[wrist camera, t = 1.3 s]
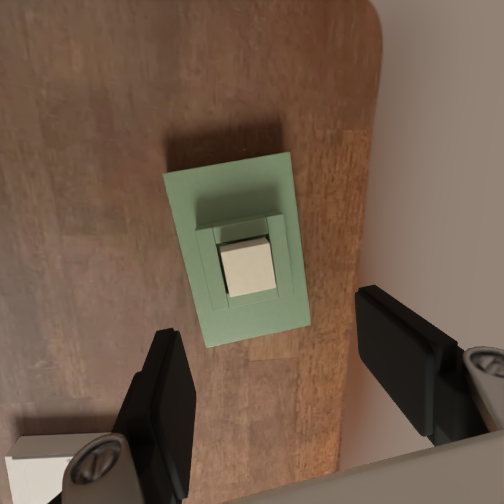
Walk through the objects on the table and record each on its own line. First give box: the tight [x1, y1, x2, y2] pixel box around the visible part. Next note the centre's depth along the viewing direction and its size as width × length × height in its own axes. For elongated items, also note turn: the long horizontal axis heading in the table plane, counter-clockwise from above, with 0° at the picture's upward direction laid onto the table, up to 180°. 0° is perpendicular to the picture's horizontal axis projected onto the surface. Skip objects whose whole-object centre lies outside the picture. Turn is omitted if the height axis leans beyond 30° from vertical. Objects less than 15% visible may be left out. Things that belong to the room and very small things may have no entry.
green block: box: [162, 151, 311, 348], centre depth 22 cm, size 14×9×4 cm, turn 10°
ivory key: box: [220, 237, 276, 297], centre depth 19 cm, size 3×3×2 cm
